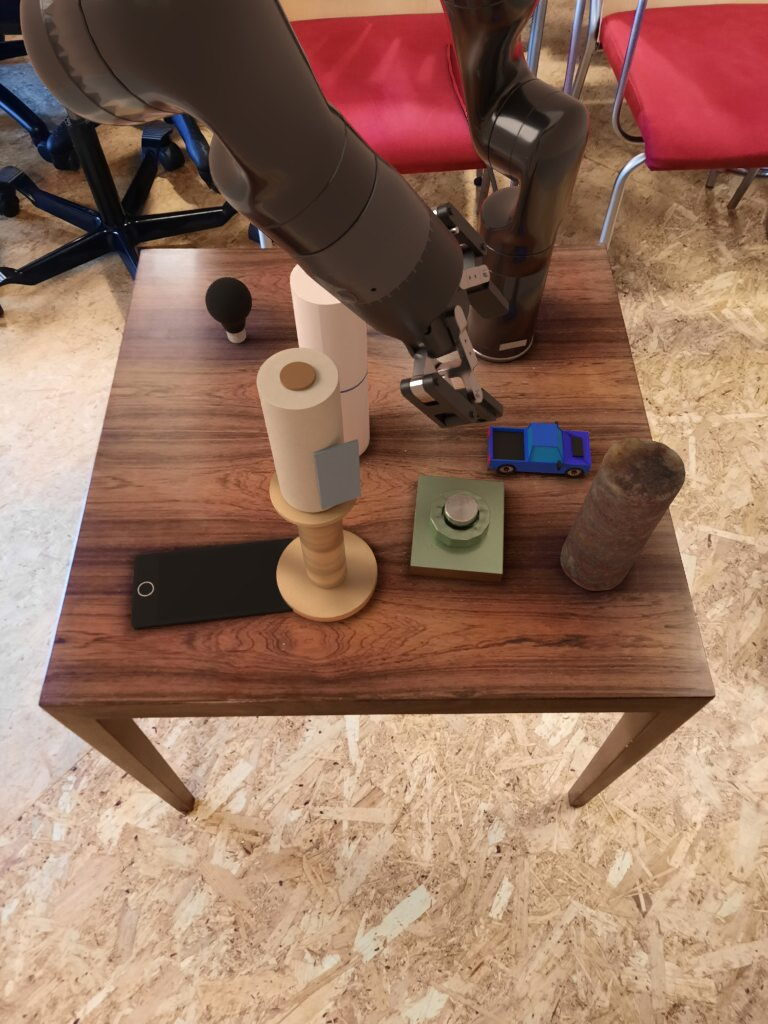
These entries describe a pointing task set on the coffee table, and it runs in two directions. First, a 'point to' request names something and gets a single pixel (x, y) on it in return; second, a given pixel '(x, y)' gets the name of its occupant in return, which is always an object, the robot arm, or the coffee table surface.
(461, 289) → the robot arm
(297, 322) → the cylindrical container
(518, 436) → the toy car
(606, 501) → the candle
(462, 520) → the button
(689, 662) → the coffee table surface
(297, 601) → the towel holder
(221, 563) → the cell phone
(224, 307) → the light bulb
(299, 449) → the towel roll
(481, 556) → the button box
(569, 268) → the coffee table surface
